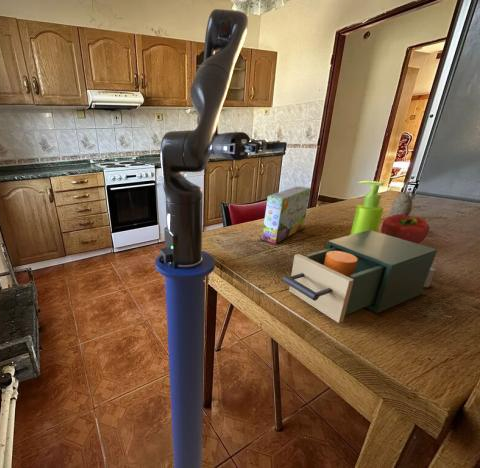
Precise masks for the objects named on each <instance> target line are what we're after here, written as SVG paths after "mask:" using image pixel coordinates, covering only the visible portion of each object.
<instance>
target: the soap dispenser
mask: <svg viewBox="0 0 480 468" xmlns="http://www.w3.org/2000/svg"><path fill="white" fill-rule="evenodd" d="M357 184H358V185H371V186H370V190H369V192H367V193H365V195H364V198H363V202H362V203H361V204H357V205H356V208H355V214H354V217H353V221H352V225H351V229H350V232H349V233H350V234H349V235H353V234H357V233H361V232H365V231H368V230H372V231H375V232H378V229H379V226H380V223H381V219H382V216H383V212H384V207H382V206H379V204H380V200H381V197H382V195H381V194H380V193H379V189H380V187H382V186H384V184H385V183H384V182H382V181H376V180H362V181H357Z"/></svg>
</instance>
